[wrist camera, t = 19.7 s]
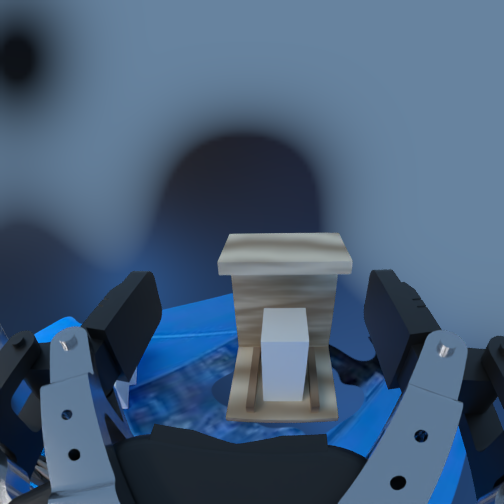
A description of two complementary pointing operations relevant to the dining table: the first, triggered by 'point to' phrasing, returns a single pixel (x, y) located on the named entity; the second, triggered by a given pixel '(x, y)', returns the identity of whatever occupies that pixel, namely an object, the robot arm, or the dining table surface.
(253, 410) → the brown wooden upright stand
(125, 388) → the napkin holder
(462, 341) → the robot arm
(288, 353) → the pale elongated brick
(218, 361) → the dining table surface
